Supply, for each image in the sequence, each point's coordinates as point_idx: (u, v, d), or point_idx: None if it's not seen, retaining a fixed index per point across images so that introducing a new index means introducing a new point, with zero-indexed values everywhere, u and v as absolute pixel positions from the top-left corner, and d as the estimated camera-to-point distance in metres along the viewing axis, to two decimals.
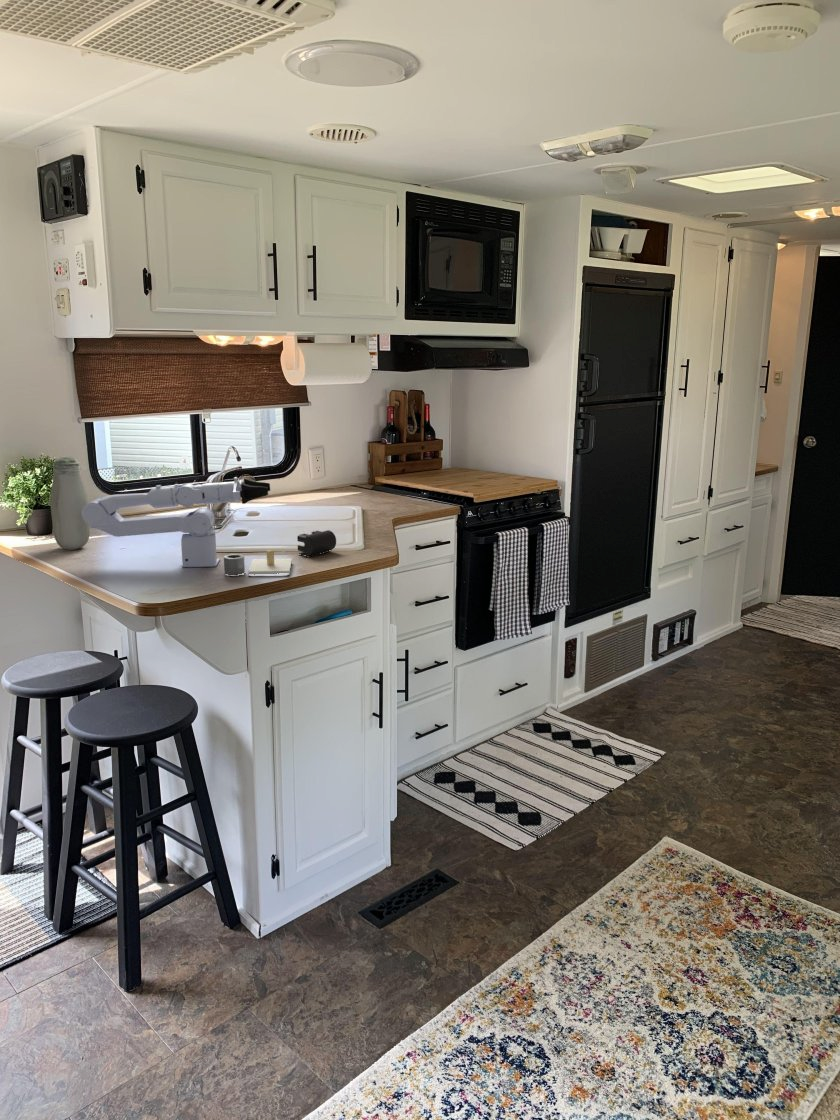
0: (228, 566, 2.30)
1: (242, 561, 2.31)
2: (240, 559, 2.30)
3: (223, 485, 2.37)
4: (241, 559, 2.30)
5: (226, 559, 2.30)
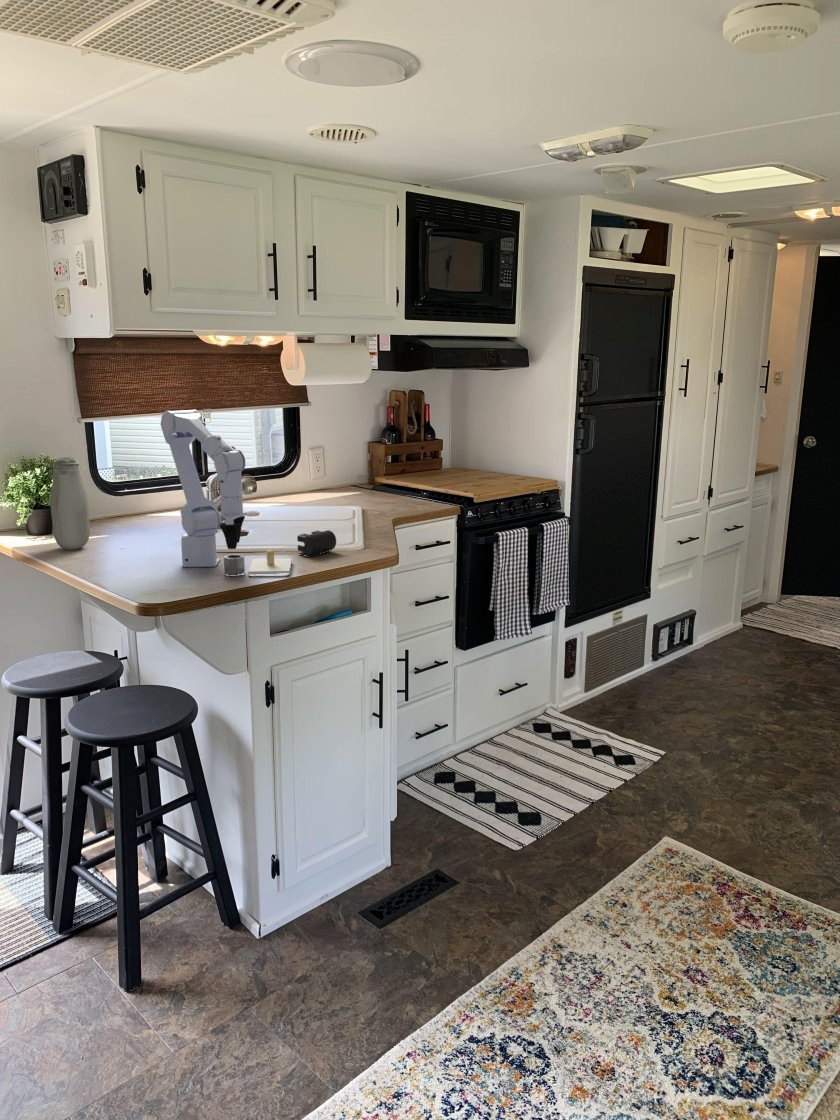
0: (228, 566, 2.30)
1: (242, 561, 2.31)
2: (240, 559, 2.30)
3: (239, 502, 2.26)
4: (241, 559, 2.30)
5: (226, 559, 2.30)
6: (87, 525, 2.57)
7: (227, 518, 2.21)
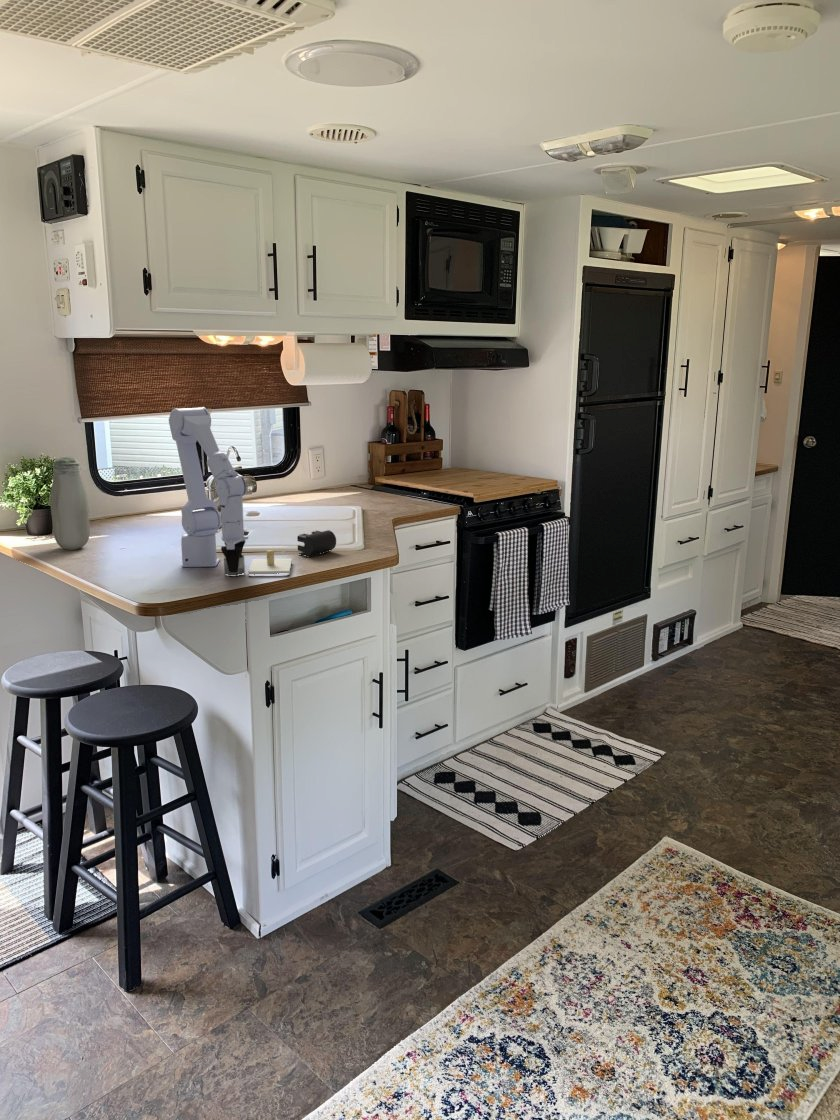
0: None
1: (242, 561, 2.31)
2: (240, 559, 2.30)
3: (240, 527, 2.28)
4: (241, 559, 2.30)
5: None
6: (87, 525, 2.57)
7: (228, 543, 2.23)
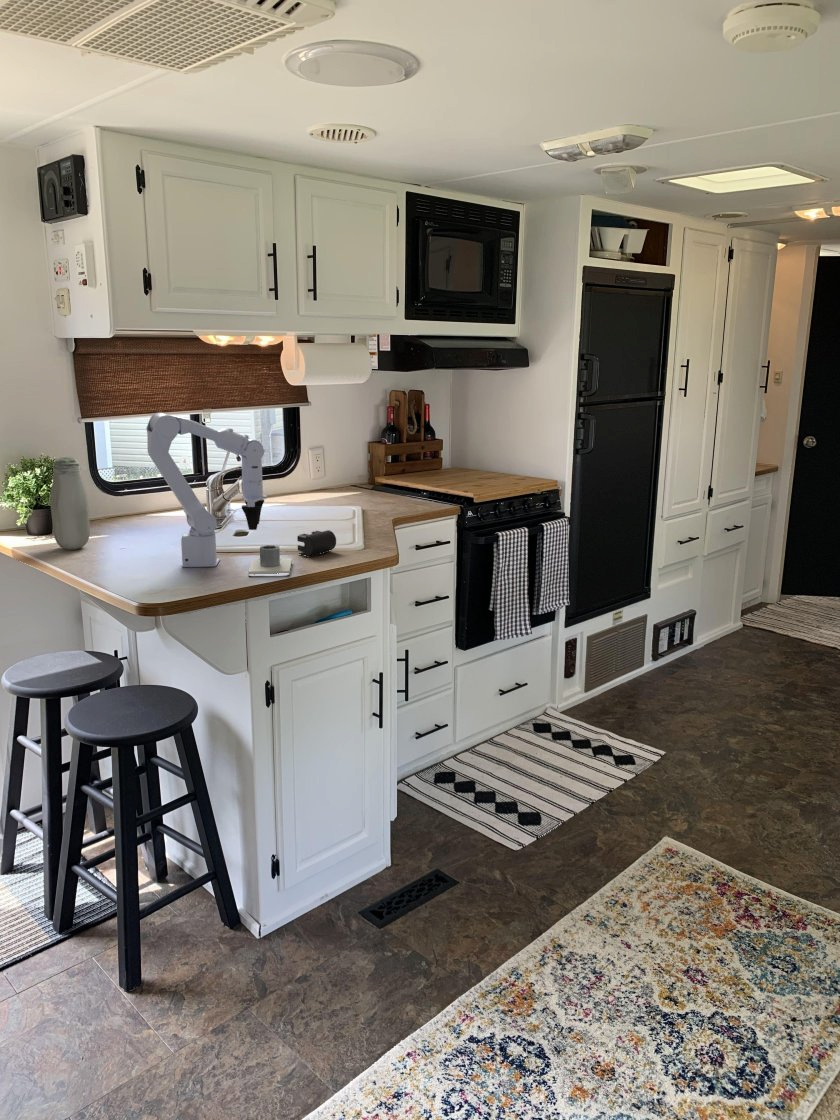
0: (271, 557, 2.34)
1: (279, 550, 2.37)
2: (279, 548, 2.36)
3: (259, 486, 2.44)
4: (279, 548, 2.36)
5: (268, 550, 2.33)
6: (87, 525, 2.57)
7: (249, 501, 2.39)
